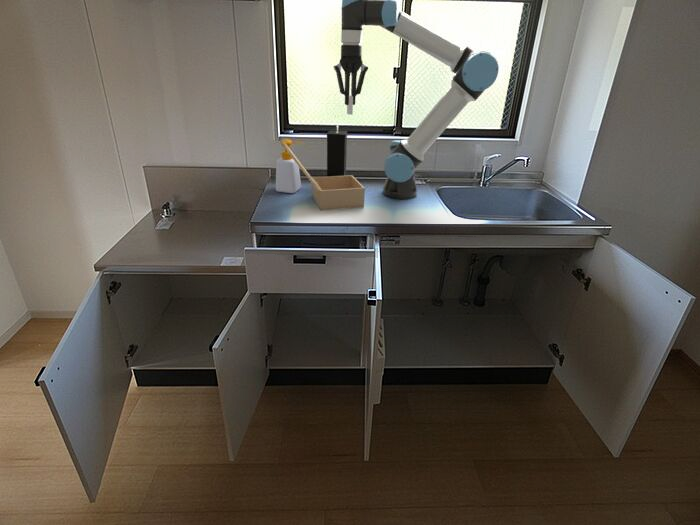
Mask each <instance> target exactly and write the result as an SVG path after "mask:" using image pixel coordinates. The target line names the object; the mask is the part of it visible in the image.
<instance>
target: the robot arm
mask: <svg viewBox="0 0 700 525" xmlns="http://www.w3.org/2000/svg"><path fill="white" fill-rule="evenodd" d="M399 8H400V7H399V2H398V0H342V1H341V32H340V33H341V37H340V42H341V43H342V44H341V45H340V60H339V62H338V63H336V65H333V70H334V72H335V73H336V79H337V82H338V89H339V93H340V94H342V95H344V105H345V106H346V114H347V115H351V116H352V115H353V111H354V110H353V109H354V107H353V106H355V105H356V96H358V95H360V94H362V93H361V92H362V89H363V84H364V80H365V76H366V73H367V71H368V70H369V67H368V66H366V65H365V64H364V63H363V62H364V61H363V60H362V55H363V46H362V45H361V44H362V43H363V31H364V30H363V29H364V26H374V27H375V26H376V27H381V28H383V29H384V30H386V31H388V32H390V33H391V34H393V35H395V36H397V37H398V38H401V39H402V40H404V41H405V42H407V43H408V44H410V45H411V46H414V47H416V48H417V49H419V50H421V51H422V52H425V53H426V54H427V55H429V56H431V57H433V58H434V59H436V60H437V61H440V62H441V63H443V64H444V65H446V66H448V67H449V68H450V72H452V73H454V75H453V76H452V78H451V85H450V87H449V88H448V89H447V91H446V92H445V93H444V94H442V97H441V98H440V99H439V100H438V102H436V104H435V105H434V106H433V108H432V109H431V110H430V111H429V112H428V113H427V115H425V117H424V119H423V120H422V121H421V122H420V123H419V124H418V126H416V128H415V129H414V130H413V132H411V134H410V135H409V136H408V138H407V139H401V140H398V139H397V140H392V141H391V142H390V145H389V154H388V155H387V157H386V159H385V161H384V164H383V165H384V172H385V173H384V174H385V175H386V176H387V177H386V179H385V182H384V183H383V184H384V185H383V187H382V193H383V195H384V196H387V198H388V197H389V198H392V199H399V200H406V199H407V200H408V199H413V198H415V197H417V191H418V188H417V184H416V179H415V175H416V169H417V168H419V166H420V165H421V164H422V163H423V161H424V160H425V156H424V155H425V153H426V152H427V151H428V150H429V149H430V147H431V146H432V145H433V144H434V143H435V142H436V141H437V140H438V138H439V137H440V136H441V135H442V134H443V132H444V131H445V130H446V129H447V128H448V126H449V125H451V123H452V122H453V121H454V120H455V119H456V118H457V116H458V115H459V114H460V113H461V112H462V111H463V109H465V107H466V106H467V105H468V103H471V102H476V101H477V100H478V98H479V97H481V95H482V94H483V93H484V92H485V91H486V90H487V89H489V88H490V87H492V85H494V83H495V82H496V79H497V78H498V75H499V64H498V63H499V62H498V60H497V58H496V57H495V56H494V55H493V54H491V52H488V51H485V50H483V51H479V50H477V49H474V48H471V47H470V46H469V45H462V46H461V45H460V44H459V43H456V42H454V41H452V40H451V39H450V38H448V37H447V36H445V35H443V34H441V33H439V32H438V31H436V30H435V29H432V27H429V26H427V25H426V24H424V23H422V22H421V21H419V20H417V19H415V17H412V16H410V15H409V14H407V13H406V12H404V11H402V10H400V9H399ZM341 71H343V72H344V81H343V76H342V72H341ZM359 71H360V73H359V76H358V72H359ZM357 76H358V81H357ZM350 77H351V78H350ZM350 79H351V82H350ZM350 83H351V84H350ZM350 86H351V88H350ZM350 94H351V95H350Z"/></svg>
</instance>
